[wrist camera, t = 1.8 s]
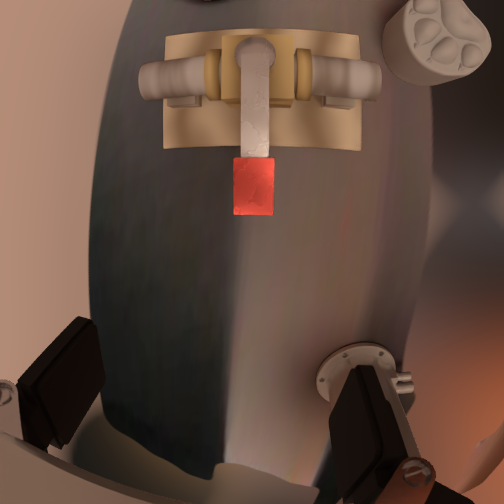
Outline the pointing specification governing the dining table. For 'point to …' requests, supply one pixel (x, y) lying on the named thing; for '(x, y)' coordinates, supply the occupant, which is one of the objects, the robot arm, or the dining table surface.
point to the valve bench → (280, 119)
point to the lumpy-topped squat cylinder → (434, 42)
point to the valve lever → (254, 129)
